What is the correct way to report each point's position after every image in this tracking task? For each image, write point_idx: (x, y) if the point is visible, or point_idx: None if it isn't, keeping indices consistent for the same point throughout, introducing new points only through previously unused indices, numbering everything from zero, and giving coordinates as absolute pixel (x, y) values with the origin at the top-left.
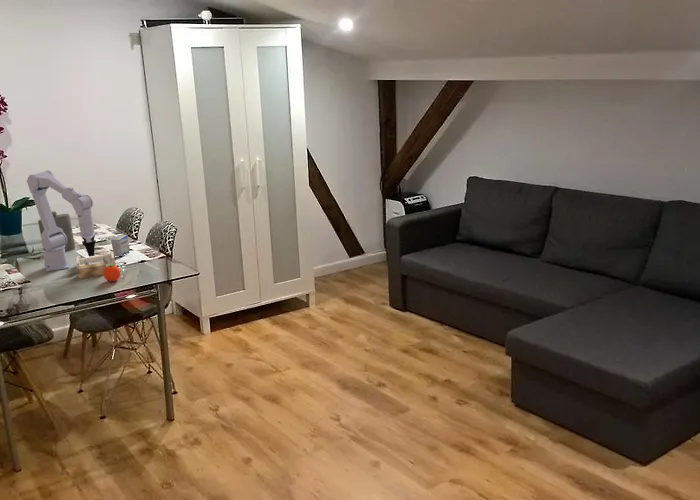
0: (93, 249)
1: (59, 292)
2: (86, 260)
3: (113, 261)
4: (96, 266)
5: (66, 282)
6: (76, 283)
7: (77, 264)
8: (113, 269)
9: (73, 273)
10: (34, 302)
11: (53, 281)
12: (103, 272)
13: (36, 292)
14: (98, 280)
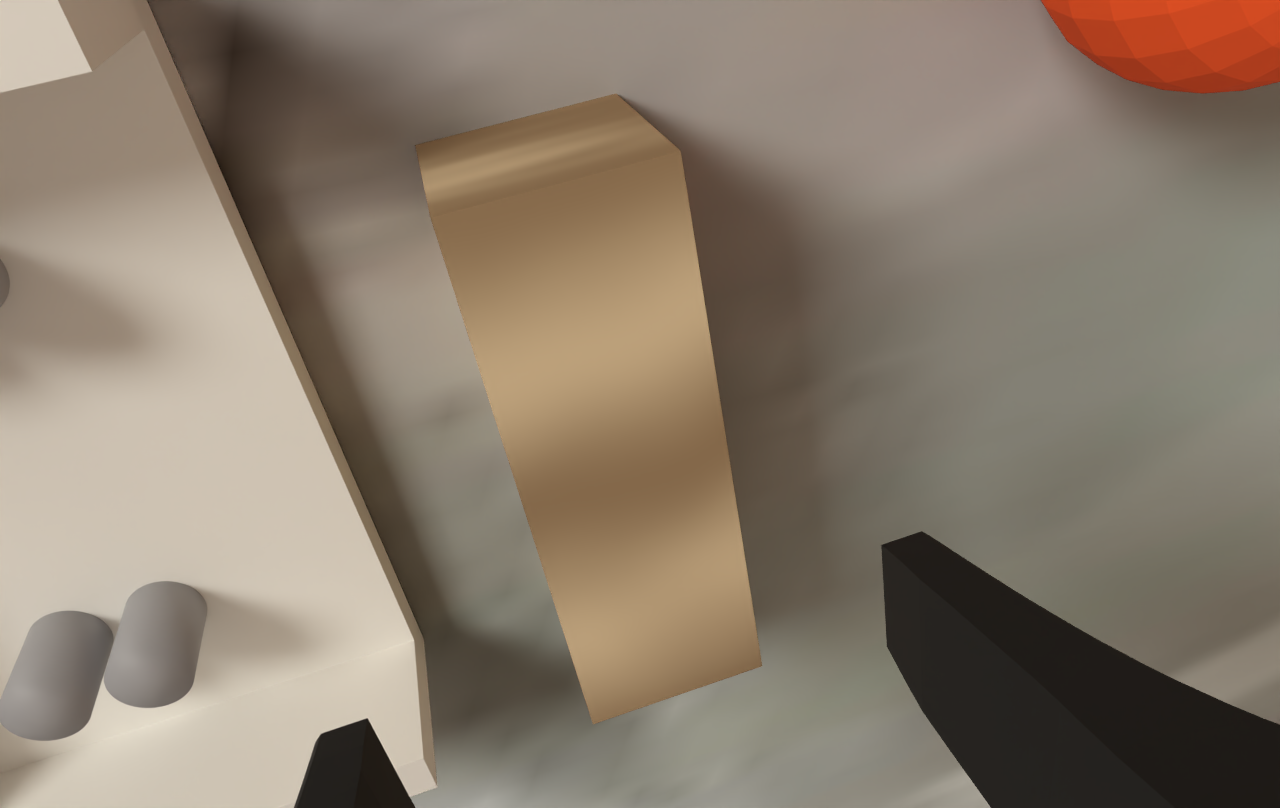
0: (1118, 670)
1: (1135, 593)
2: (20, 716)
3: (102, 16)
4: (709, 361)
5: (812, 644)
6: (915, 507)
7: (431, 759)
8: None
9: (431, 696)
10: (1264, 707)
11: (707, 796)
12: (1257, 85)
13: None
14: (939, 197)
